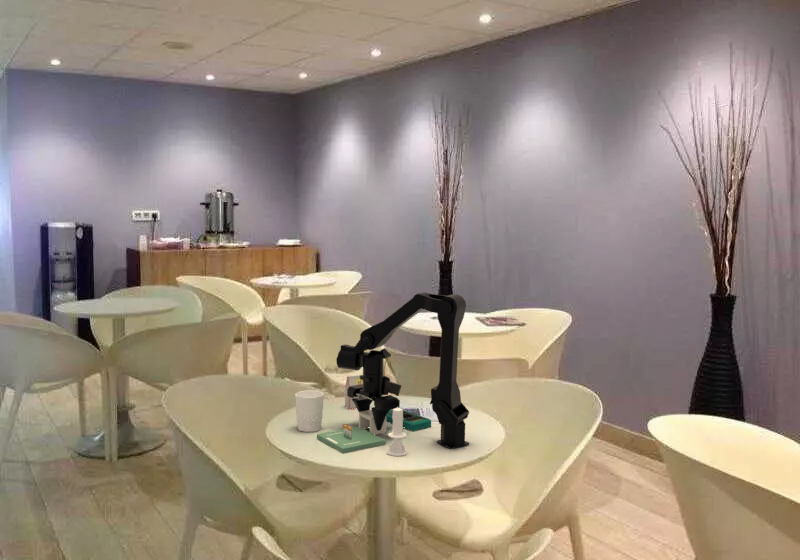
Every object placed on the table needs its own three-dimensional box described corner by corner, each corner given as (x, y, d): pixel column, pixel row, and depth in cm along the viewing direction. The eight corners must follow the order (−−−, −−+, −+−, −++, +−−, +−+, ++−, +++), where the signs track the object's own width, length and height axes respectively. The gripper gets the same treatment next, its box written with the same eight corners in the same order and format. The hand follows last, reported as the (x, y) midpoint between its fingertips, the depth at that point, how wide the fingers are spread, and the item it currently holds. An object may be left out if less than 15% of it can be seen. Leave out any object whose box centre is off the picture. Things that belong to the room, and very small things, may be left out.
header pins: (352, 439, 197) (352, 427, 197) (349, 439, 197) (349, 427, 196) (345, 435, 200) (345, 424, 200) (343, 436, 200) (343, 424, 199)
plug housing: (386, 432, 208) (386, 414, 207) (370, 435, 205) (371, 417, 204) (373, 426, 213) (373, 409, 212) (358, 429, 210) (358, 411, 210)
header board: (385, 444, 197) (385, 439, 197) (342, 453, 190) (342, 448, 190) (357, 430, 209) (358, 426, 208) (316, 438, 201) (316, 433, 201)
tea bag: (344, 406, 233) (345, 375, 232) (365, 404, 236) (365, 373, 235) (348, 409, 230) (348, 377, 229) (369, 407, 232) (369, 376, 231)
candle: (386, 449, 193) (386, 404, 192) (406, 449, 194) (407, 404, 192) (387, 456, 188) (388, 409, 187) (408, 456, 188) (409, 409, 187)
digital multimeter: (398, 416, 225) (398, 407, 224) (432, 428, 213) (432, 418, 213) (379, 421, 220) (379, 411, 220) (413, 433, 209) (413, 423, 208)
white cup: (329, 427, 211) (329, 392, 210) (312, 434, 205) (312, 399, 204) (306, 422, 215) (306, 389, 214) (289, 429, 209) (289, 394, 208)
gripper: (416, 375, 204) (415, 431, 206) (379, 363, 219) (378, 414, 221) (382, 380, 198) (381, 437, 199) (346, 367, 213) (345, 420, 215)
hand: (372, 427), depth 209 cm, fingers closed on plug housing, 6 cm apart
